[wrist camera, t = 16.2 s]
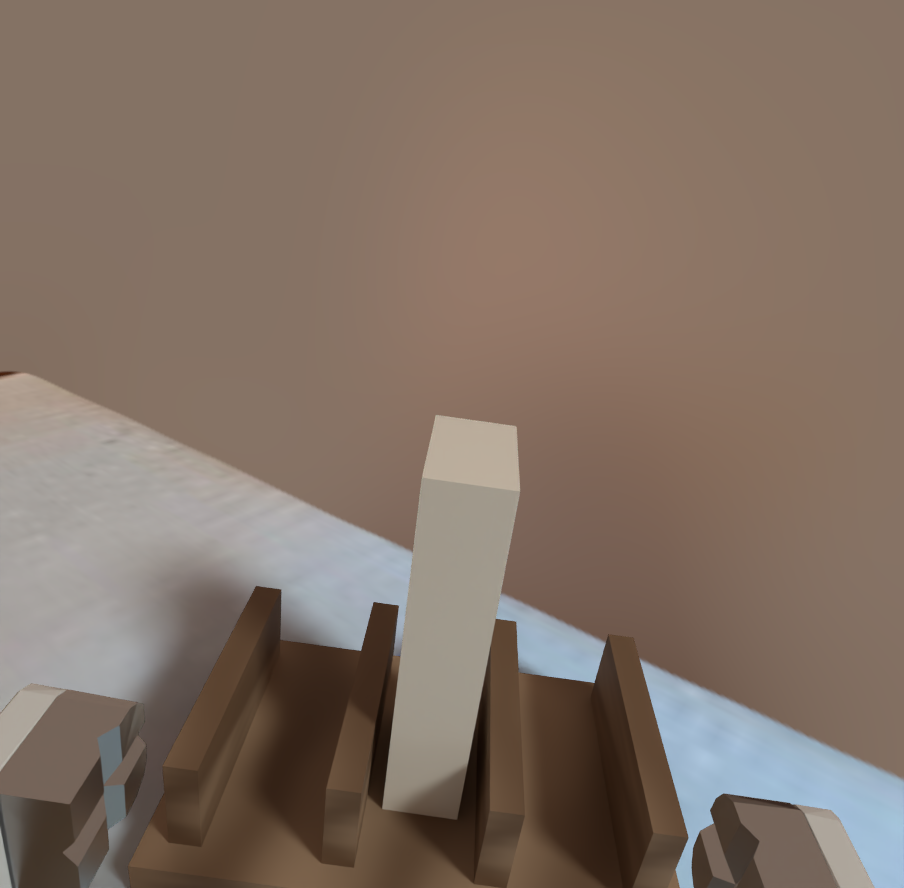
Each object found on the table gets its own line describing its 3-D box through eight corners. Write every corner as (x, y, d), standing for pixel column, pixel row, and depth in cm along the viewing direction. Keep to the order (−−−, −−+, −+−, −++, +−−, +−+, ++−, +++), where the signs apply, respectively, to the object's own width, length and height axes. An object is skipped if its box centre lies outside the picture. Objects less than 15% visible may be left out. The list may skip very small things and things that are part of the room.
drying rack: (131, 892, 24) (118, 788, 22) (242, 657, 35) (242, 570, 33) (681, 967, 24) (726, 870, 22) (623, 709, 35) (650, 626, 33)
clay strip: (382, 808, 27) (422, 477, 21) (399, 711, 31) (436, 415, 25) (457, 819, 27) (520, 491, 21) (463, 720, 31) (516, 426, 25)
